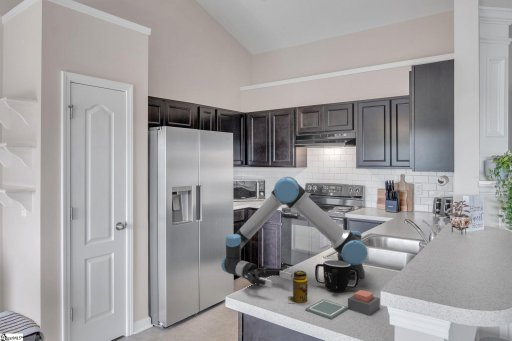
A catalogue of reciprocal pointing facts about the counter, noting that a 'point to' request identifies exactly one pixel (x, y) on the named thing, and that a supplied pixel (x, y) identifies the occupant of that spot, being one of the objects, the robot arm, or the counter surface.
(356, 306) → the button housing
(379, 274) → the counter surface
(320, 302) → the slate board
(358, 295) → the button
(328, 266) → the mug
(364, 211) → the counter surface
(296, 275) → the condiment
